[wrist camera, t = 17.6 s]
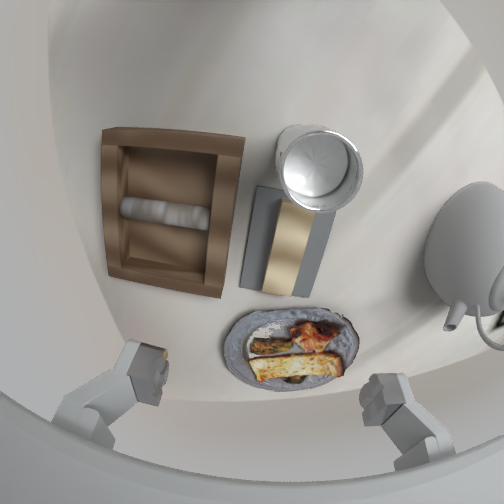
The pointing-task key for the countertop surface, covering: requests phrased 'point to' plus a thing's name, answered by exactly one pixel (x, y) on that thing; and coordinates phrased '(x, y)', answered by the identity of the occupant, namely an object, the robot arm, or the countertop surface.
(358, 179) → the drinking glass
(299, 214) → the maple bar
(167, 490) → the robot arm
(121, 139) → the pocket board
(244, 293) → the countertop surface
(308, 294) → the rubber mat
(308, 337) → the food plate
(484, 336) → the kettle
